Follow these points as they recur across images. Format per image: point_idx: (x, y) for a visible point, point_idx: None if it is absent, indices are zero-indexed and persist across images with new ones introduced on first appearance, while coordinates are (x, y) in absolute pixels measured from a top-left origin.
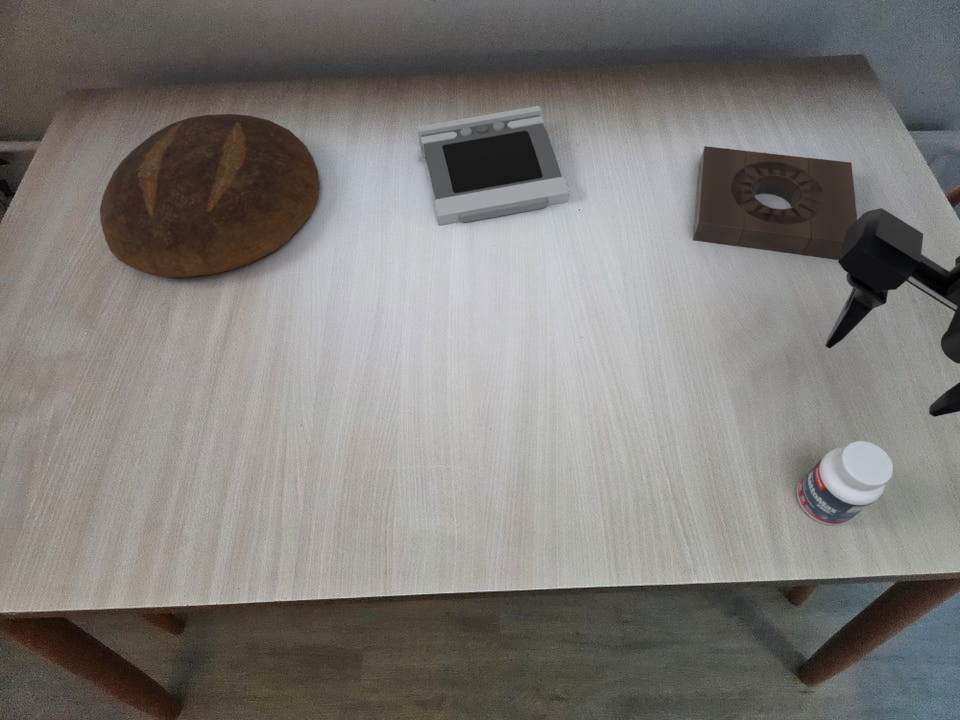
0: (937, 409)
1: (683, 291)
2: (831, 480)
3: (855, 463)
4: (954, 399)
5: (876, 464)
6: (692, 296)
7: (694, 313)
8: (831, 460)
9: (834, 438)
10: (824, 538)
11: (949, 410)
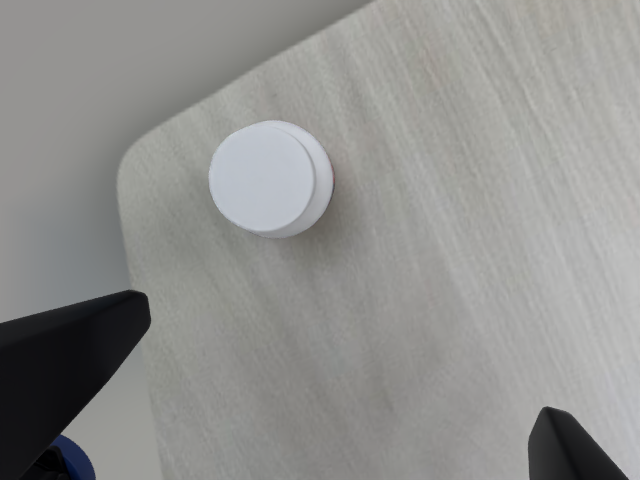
0: (121, 306)
1: None
2: (311, 143)
3: (284, 165)
4: (61, 347)
5: (242, 183)
6: None
7: None
8: (319, 186)
9: (295, 291)
10: (279, 115)
11: (80, 308)
